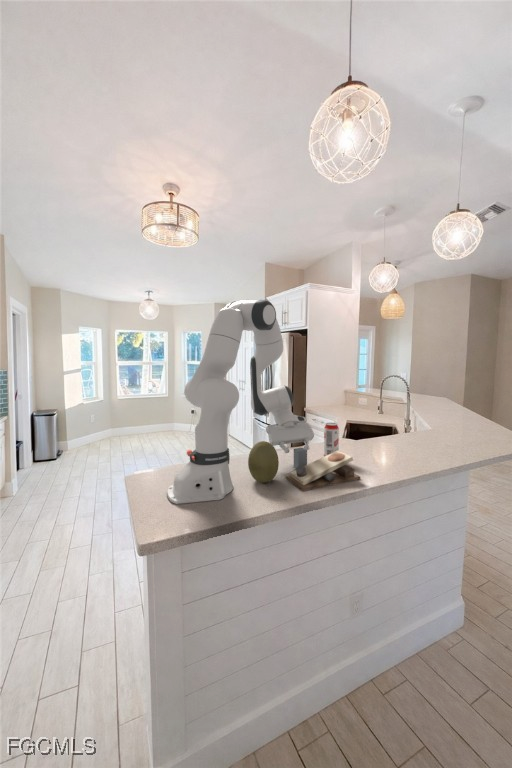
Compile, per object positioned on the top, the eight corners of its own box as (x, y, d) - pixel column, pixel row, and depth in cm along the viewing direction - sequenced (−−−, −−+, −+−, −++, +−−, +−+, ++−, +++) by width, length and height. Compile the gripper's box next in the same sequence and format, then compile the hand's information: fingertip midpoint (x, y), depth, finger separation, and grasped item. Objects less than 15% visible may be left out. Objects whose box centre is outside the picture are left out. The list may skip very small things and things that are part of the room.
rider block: (298, 470, 128) (298, 451, 127) (293, 467, 132) (293, 448, 131) (307, 469, 129) (307, 450, 129) (302, 466, 133) (302, 447, 132)
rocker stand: (301, 490, 109) (301, 479, 109) (285, 478, 120) (285, 468, 120) (360, 479, 118) (360, 468, 118) (340, 468, 129) (340, 459, 129)
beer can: (322, 460, 140) (322, 424, 138) (326, 456, 145) (326, 421, 144) (336, 462, 137) (336, 426, 135) (340, 458, 142) (340, 423, 141)
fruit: (244, 478, 121) (243, 439, 120) (271, 473, 125) (271, 436, 124) (254, 489, 110) (254, 447, 109) (284, 484, 114) (283, 443, 113)
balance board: (303, 485, 111) (301, 475, 110) (291, 476, 119) (288, 467, 118) (353, 460, 118) (351, 450, 118) (338, 453, 127) (336, 444, 126)
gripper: (266, 421, 134) (277, 450, 126) (308, 417, 142) (321, 444, 134) (262, 429, 138) (272, 458, 130) (303, 425, 146) (315, 451, 138)
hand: (297, 451), depth 132 cm, fingers open, 8 cm apart
